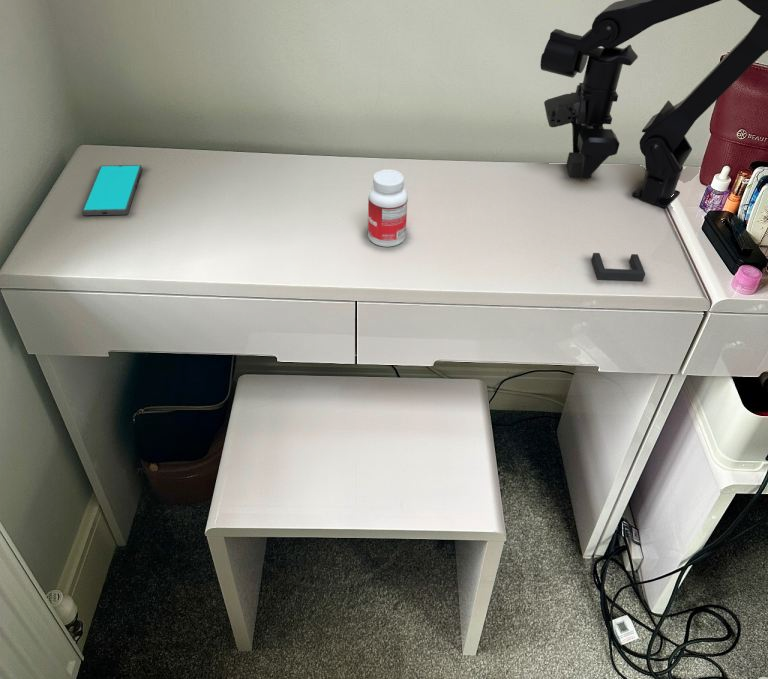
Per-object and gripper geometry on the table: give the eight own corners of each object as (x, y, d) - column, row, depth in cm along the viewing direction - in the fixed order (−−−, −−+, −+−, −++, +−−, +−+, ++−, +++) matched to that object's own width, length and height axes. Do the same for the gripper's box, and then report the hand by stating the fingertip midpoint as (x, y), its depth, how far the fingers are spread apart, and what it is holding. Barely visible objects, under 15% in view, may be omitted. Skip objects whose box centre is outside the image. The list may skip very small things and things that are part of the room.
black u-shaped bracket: (591, 260, 112) (593, 252, 111) (635, 261, 112) (637, 254, 111) (597, 279, 108) (599, 272, 107) (642, 281, 108) (645, 273, 107)
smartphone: (81, 211, 116) (100, 165, 127) (82, 215, 117) (101, 169, 128) (127, 210, 117) (142, 164, 128) (128, 214, 117) (143, 169, 128)
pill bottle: (366, 226, 117) (367, 167, 109) (403, 225, 117) (406, 166, 110) (369, 248, 112) (370, 188, 105) (407, 247, 113) (411, 187, 105)
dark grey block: (565, 166, 133) (569, 152, 131) (586, 167, 133) (590, 152, 131) (569, 177, 130) (572, 162, 128) (590, 178, 130) (594, 163, 128)
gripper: (545, 60, 127) (530, 140, 138) (561, 106, 113) (543, 190, 124) (606, 62, 127) (587, 142, 138) (630, 108, 113) (607, 193, 124)
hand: (580, 165), depth 131 cm, fingers open, 9 cm apart
